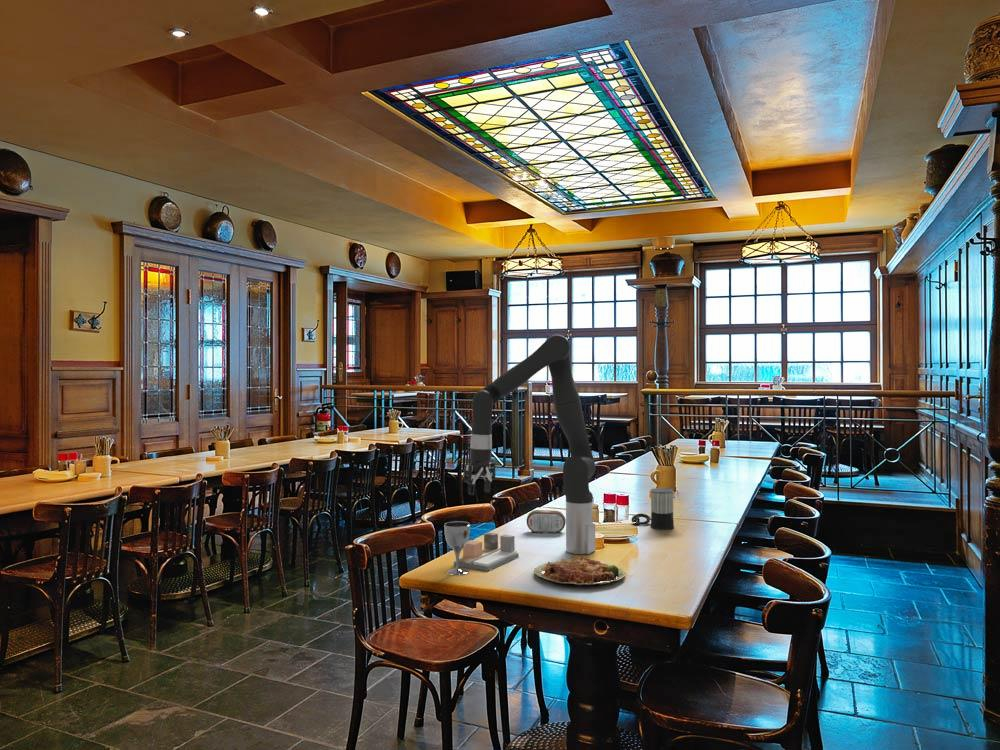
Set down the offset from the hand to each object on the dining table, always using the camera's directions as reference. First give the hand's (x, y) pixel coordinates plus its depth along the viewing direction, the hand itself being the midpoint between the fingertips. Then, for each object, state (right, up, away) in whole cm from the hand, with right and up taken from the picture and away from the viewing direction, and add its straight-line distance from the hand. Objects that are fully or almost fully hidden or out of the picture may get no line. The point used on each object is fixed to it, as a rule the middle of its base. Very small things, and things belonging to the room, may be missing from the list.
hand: (479, 493), depth 242 cm
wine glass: (-6, -20, -27) cm, 34 cm away
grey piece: (0, -18, -13) cm, 23 cm away
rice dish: (+31, -20, -32) cm, 49 cm away
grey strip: (+6, -18, -17) cm, 26 cm away
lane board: (+3, -20, -15) cm, 25 cm away
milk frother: (+68, -19, +35) cm, 79 cm away
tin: (+25, -19, +25) cm, 40 cm away
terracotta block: (-2, -18, -16) cm, 24 cm away
